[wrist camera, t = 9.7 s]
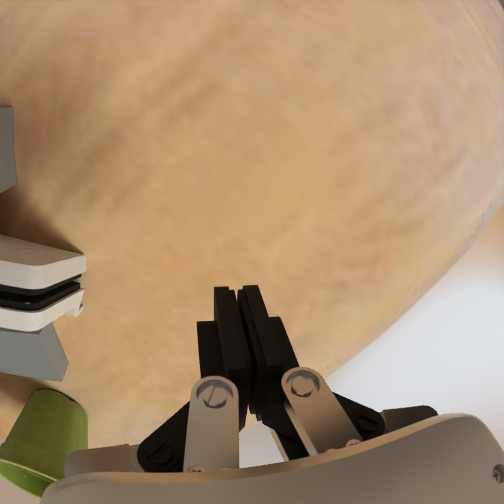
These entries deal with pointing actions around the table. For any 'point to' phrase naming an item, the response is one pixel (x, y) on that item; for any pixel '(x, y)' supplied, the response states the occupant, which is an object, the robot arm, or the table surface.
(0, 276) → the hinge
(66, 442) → the plant pot
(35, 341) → the gray u-shaped block
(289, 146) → the table surface
